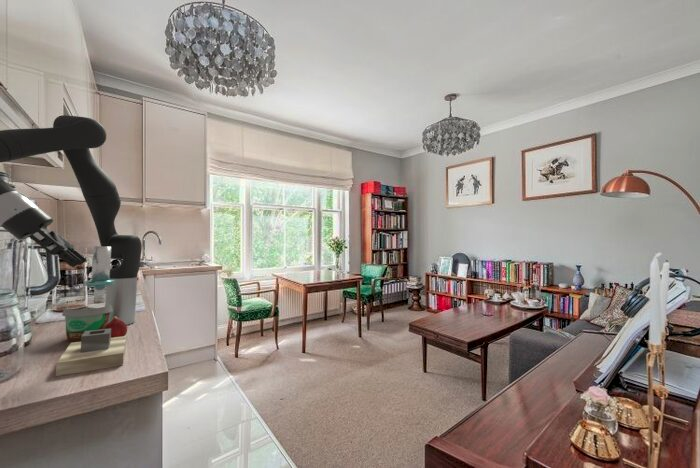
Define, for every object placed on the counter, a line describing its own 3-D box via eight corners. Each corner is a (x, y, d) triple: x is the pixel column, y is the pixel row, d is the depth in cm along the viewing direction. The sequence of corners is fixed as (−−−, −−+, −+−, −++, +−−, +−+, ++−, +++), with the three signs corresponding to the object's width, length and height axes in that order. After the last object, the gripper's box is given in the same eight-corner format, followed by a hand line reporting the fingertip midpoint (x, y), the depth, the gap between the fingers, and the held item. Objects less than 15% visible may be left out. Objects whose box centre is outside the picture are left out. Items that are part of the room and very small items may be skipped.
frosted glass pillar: (85, 301, 78) (89, 246, 78) (114, 300, 81) (117, 246, 82) (81, 305, 73) (85, 246, 73) (112, 303, 76) (116, 247, 77)
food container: (51, 345, 85) (53, 311, 86) (61, 339, 91) (64, 306, 91) (104, 341, 90) (106, 308, 91) (111, 335, 96) (113, 304, 96)
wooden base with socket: (70, 354, 79) (71, 327, 80) (125, 346, 86) (127, 322, 87) (55, 376, 66) (58, 344, 67) (122, 365, 73) (124, 336, 74)
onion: (131, 340, 91) (132, 314, 92) (114, 347, 86) (116, 319, 86) (114, 339, 92) (115, 314, 92) (96, 345, 86) (98, 318, 86)
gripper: (26, 201, 65) (91, 254, 71) (43, 208, 76) (98, 252, 82) (-13, 223, 61) (59, 277, 67) (11, 227, 73) (70, 272, 79)
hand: (80, 263), depth 75 cm, fingers open, 8 cm apart
